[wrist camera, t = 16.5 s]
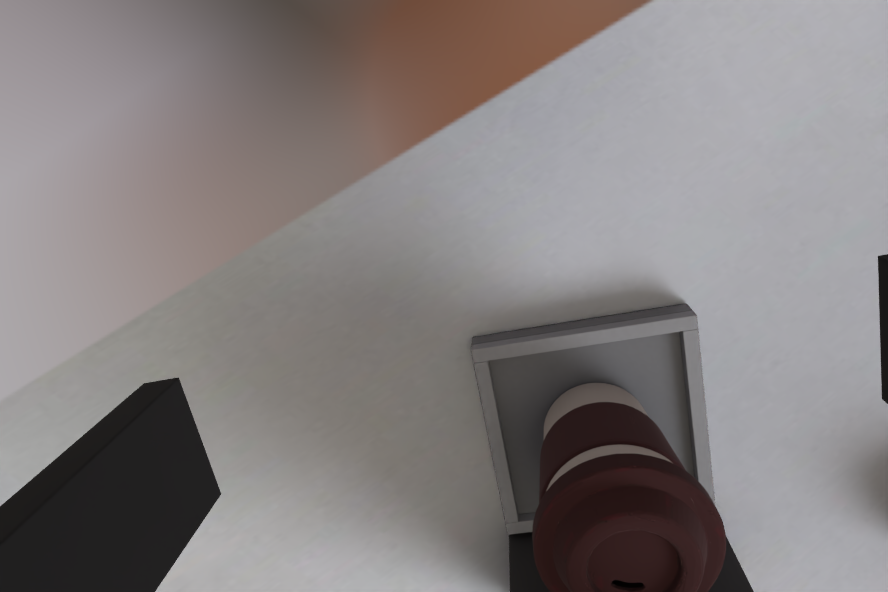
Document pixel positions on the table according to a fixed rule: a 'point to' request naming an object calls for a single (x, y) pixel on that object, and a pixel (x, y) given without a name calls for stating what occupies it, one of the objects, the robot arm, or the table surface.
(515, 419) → the coffee machine
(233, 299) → the table surface
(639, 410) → the coffee cup
